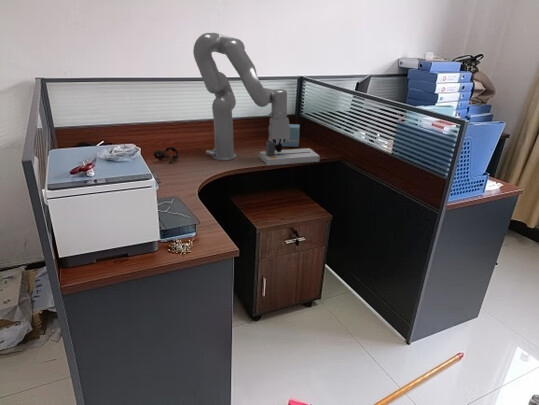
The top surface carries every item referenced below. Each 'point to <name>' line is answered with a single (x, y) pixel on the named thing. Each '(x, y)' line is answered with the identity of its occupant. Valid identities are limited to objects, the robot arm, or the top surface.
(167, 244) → the top surface
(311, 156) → the panel
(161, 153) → the dark linked rings
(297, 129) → the radio
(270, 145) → the fader knob
